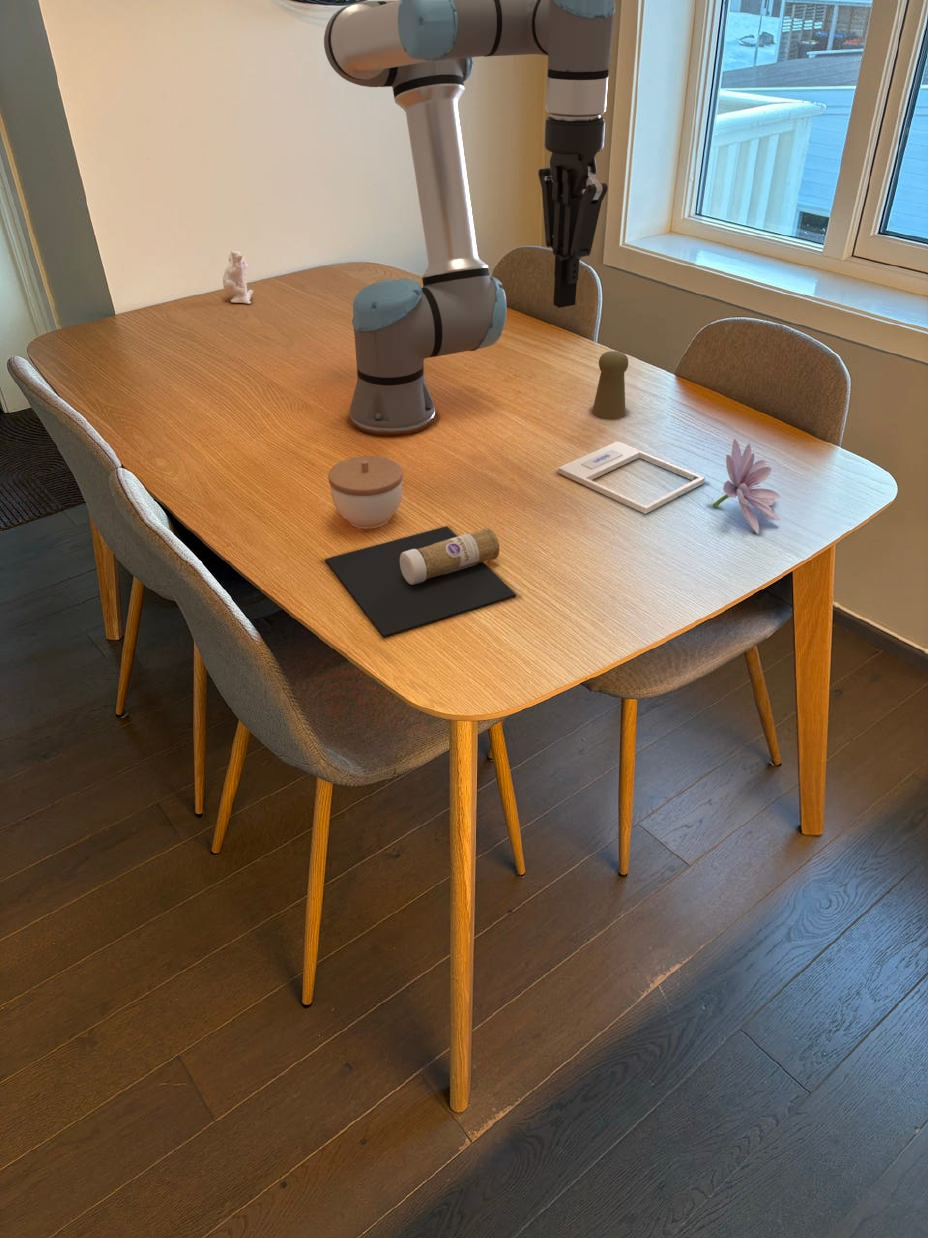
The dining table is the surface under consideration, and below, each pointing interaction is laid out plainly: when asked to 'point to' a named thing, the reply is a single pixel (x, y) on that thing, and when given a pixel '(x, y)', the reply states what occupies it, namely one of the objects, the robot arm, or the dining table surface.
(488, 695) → the dining table surface
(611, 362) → the brown game pawn
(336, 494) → the trinket box
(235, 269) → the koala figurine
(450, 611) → the mat
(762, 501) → the water lily
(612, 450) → the photo frame
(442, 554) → the sprinkles bottle
